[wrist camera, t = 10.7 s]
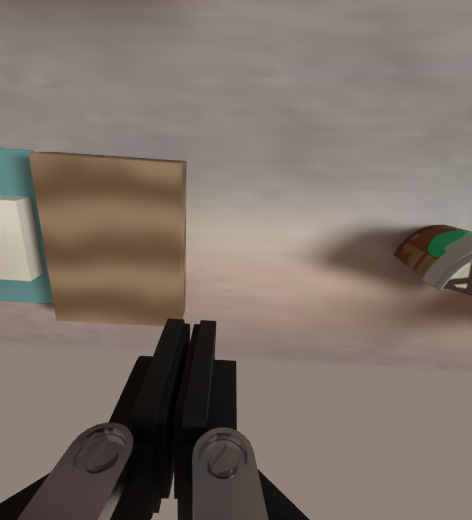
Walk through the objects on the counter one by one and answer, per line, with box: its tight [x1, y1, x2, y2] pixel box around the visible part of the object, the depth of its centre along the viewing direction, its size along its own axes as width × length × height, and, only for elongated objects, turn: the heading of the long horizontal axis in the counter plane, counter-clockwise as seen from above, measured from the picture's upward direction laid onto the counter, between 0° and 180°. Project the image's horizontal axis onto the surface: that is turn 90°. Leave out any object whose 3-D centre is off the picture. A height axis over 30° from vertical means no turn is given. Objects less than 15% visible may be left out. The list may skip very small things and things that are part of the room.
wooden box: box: [28, 152, 186, 326], centre depth 33 cm, size 18×14×4 cm
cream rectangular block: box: [0, 195, 44, 281], centre depth 33 cm, size 9×6×2 cm, turn 176°
